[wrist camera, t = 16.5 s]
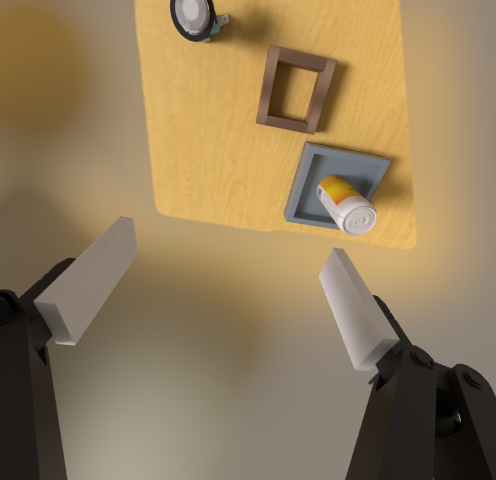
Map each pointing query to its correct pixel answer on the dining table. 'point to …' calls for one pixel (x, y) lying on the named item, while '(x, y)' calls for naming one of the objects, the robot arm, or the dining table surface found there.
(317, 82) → the collar holder
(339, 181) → the beer can
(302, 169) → the tray
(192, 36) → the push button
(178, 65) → the dining table surface
